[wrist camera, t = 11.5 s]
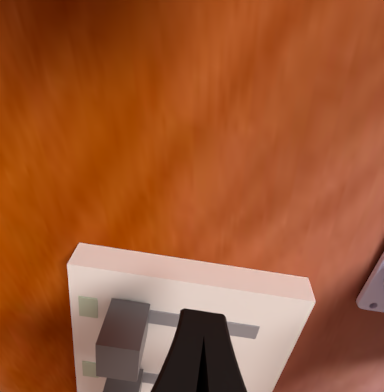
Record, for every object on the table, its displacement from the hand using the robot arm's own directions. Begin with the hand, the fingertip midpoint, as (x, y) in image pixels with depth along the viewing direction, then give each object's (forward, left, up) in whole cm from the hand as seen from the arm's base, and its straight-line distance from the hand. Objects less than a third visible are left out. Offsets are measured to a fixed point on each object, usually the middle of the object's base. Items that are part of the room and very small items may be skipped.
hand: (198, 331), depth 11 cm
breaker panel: (0, +16, -9) cm, 19 cm away
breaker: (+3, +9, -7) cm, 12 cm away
